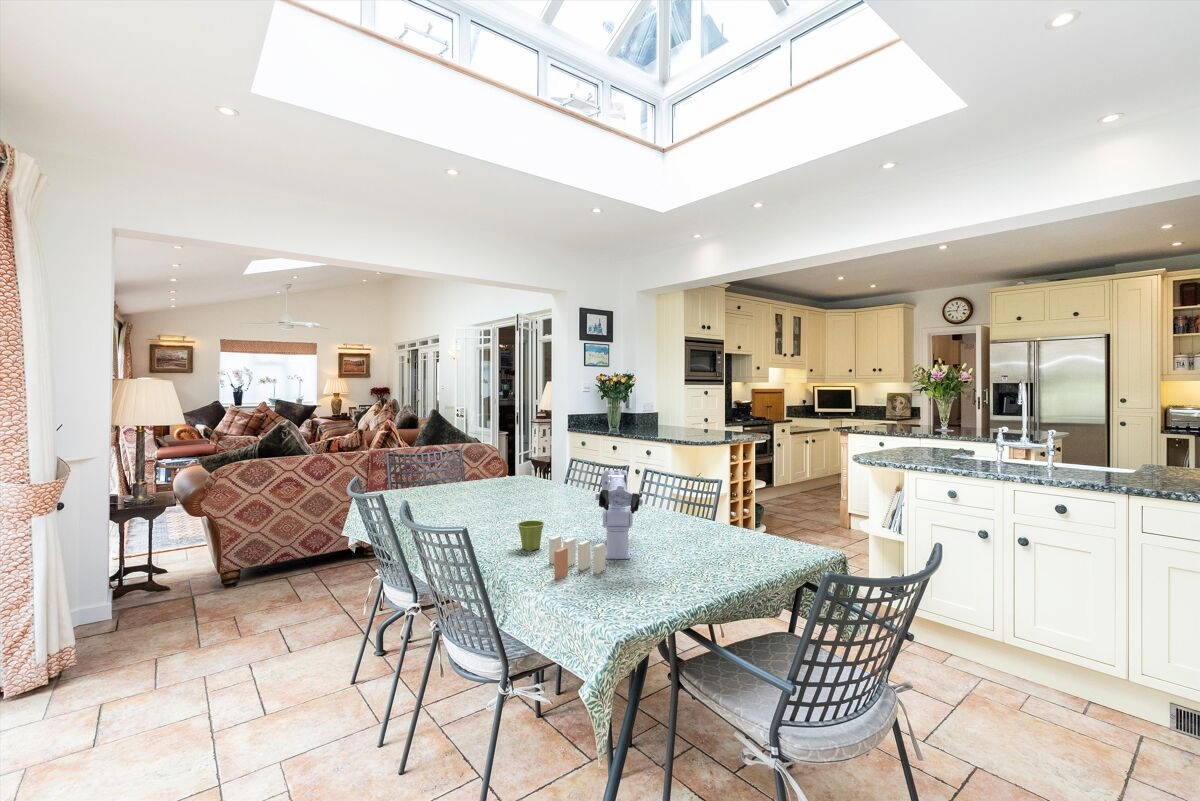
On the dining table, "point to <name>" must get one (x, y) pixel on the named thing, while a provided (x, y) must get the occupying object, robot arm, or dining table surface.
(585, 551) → the ivory domino
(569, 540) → the ivory domino
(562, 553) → the rust domino
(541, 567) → the dining table surface
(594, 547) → the ivory domino
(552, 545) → the ivory domino
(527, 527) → the plant pot
